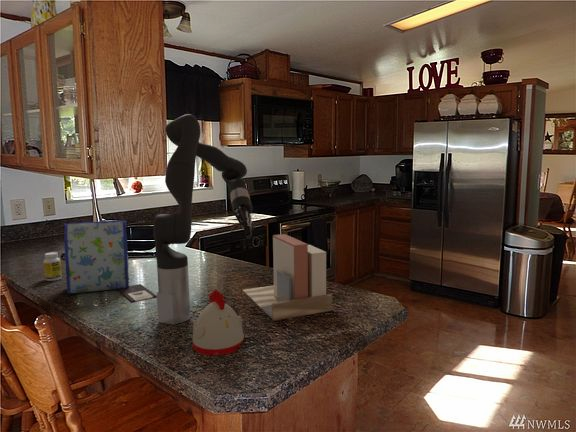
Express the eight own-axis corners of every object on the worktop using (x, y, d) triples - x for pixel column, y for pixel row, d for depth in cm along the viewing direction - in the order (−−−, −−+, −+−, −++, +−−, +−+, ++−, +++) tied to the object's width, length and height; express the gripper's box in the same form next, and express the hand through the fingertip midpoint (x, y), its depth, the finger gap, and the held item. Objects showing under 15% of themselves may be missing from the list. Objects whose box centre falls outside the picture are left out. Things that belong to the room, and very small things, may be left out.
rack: (242, 292, 159) (242, 276, 158) (291, 285, 167) (291, 270, 166) (274, 323, 130) (273, 304, 129) (332, 313, 138) (332, 295, 137)
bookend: (261, 307, 140) (260, 272, 138) (279, 305, 143) (278, 270, 141) (272, 318, 131) (271, 280, 129) (291, 315, 134) (291, 278, 132)
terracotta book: (273, 296, 151) (272, 235, 148) (285, 294, 153) (284, 234, 150) (294, 313, 135) (294, 245, 132) (307, 311, 137) (307, 243, 133)
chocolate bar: (140, 283, 169) (156, 295, 155) (140, 286, 169) (156, 298, 155) (116, 288, 164) (131, 301, 150) (117, 290, 164) (131, 303, 150)
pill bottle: (54, 281, 175) (52, 255, 174) (41, 281, 177) (39, 254, 175) (65, 277, 181) (63, 251, 180) (52, 276, 183) (50, 251, 181)
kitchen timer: (206, 360, 108) (203, 303, 105) (184, 341, 119) (181, 289, 116) (253, 345, 116) (252, 292, 113) (229, 329, 127) (227, 280, 124)
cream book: (296, 300, 147) (295, 246, 144) (309, 297, 149) (309, 244, 146) (311, 311, 136) (311, 253, 134) (326, 309, 138) (326, 251, 136)
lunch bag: (130, 278, 179) (125, 216, 175) (131, 289, 164) (126, 222, 160) (71, 284, 171) (65, 220, 168) (66, 297, 156) (59, 226, 152)
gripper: (240, 188, 163) (248, 223, 152) (257, 205, 173) (266, 239, 162) (223, 197, 164) (230, 233, 154) (241, 214, 174) (249, 248, 164)
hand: (249, 236), depth 158 cm, fingers closed
